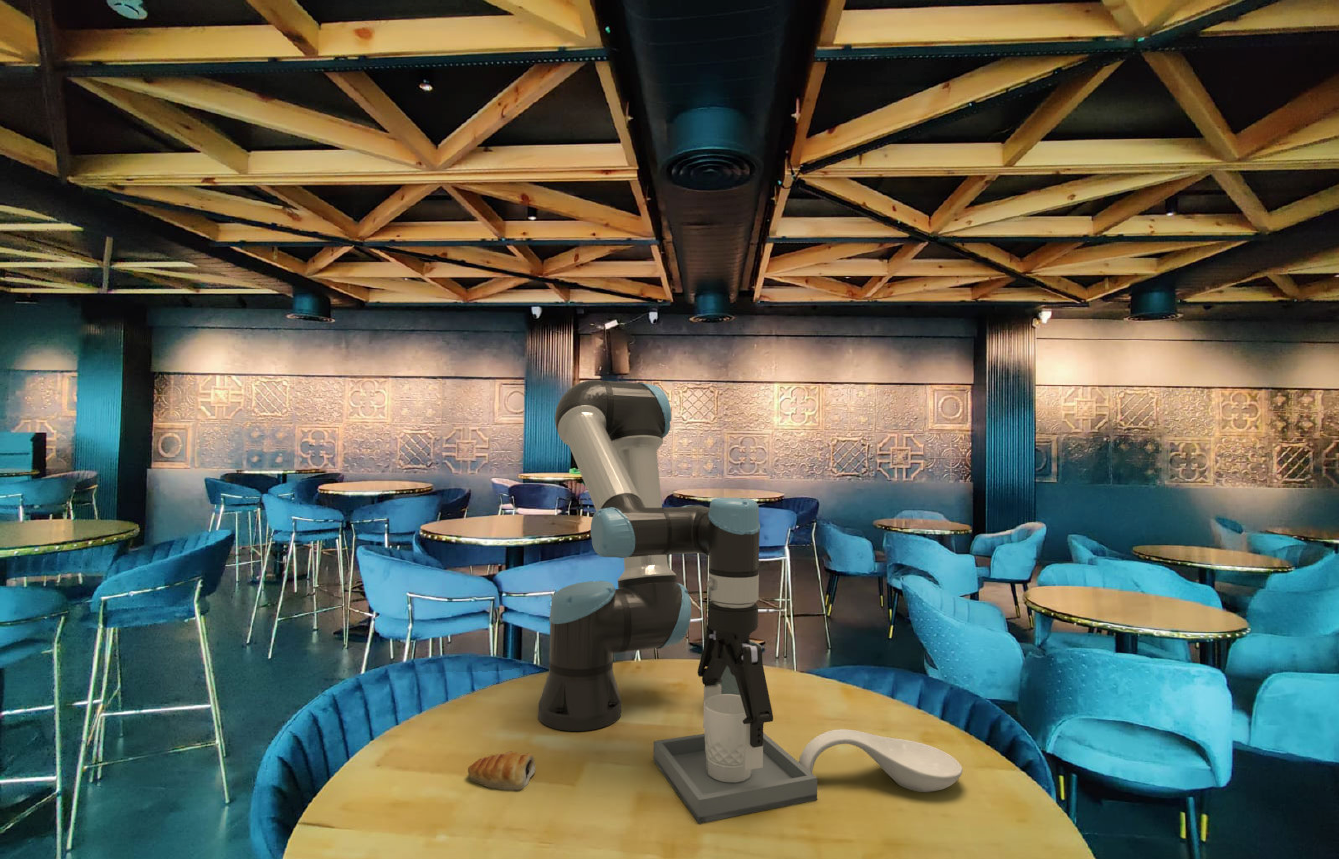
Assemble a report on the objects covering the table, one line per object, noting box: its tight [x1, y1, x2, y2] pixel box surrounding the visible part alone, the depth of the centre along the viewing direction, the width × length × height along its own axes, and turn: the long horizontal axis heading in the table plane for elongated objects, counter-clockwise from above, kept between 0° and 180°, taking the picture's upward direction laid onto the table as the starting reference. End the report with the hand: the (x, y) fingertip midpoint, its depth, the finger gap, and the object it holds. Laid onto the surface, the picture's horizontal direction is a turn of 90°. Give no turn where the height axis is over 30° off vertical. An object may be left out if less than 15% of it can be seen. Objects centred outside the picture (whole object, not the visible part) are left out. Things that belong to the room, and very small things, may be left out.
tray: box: [653, 732, 818, 824], centre depth 94 cm, size 18×18×3 cm
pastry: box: [467, 751, 536, 791], centre depth 93 cm, size 9×7×4 cm
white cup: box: [703, 694, 752, 783], centre depth 94 cm, size 8×8×10 cm
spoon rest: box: [798, 728, 964, 793], centre depth 94 cm, size 24×12×7 cm, turn 93°
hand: (731, 746), depth 94 cm, fingers open, 13 cm apart
